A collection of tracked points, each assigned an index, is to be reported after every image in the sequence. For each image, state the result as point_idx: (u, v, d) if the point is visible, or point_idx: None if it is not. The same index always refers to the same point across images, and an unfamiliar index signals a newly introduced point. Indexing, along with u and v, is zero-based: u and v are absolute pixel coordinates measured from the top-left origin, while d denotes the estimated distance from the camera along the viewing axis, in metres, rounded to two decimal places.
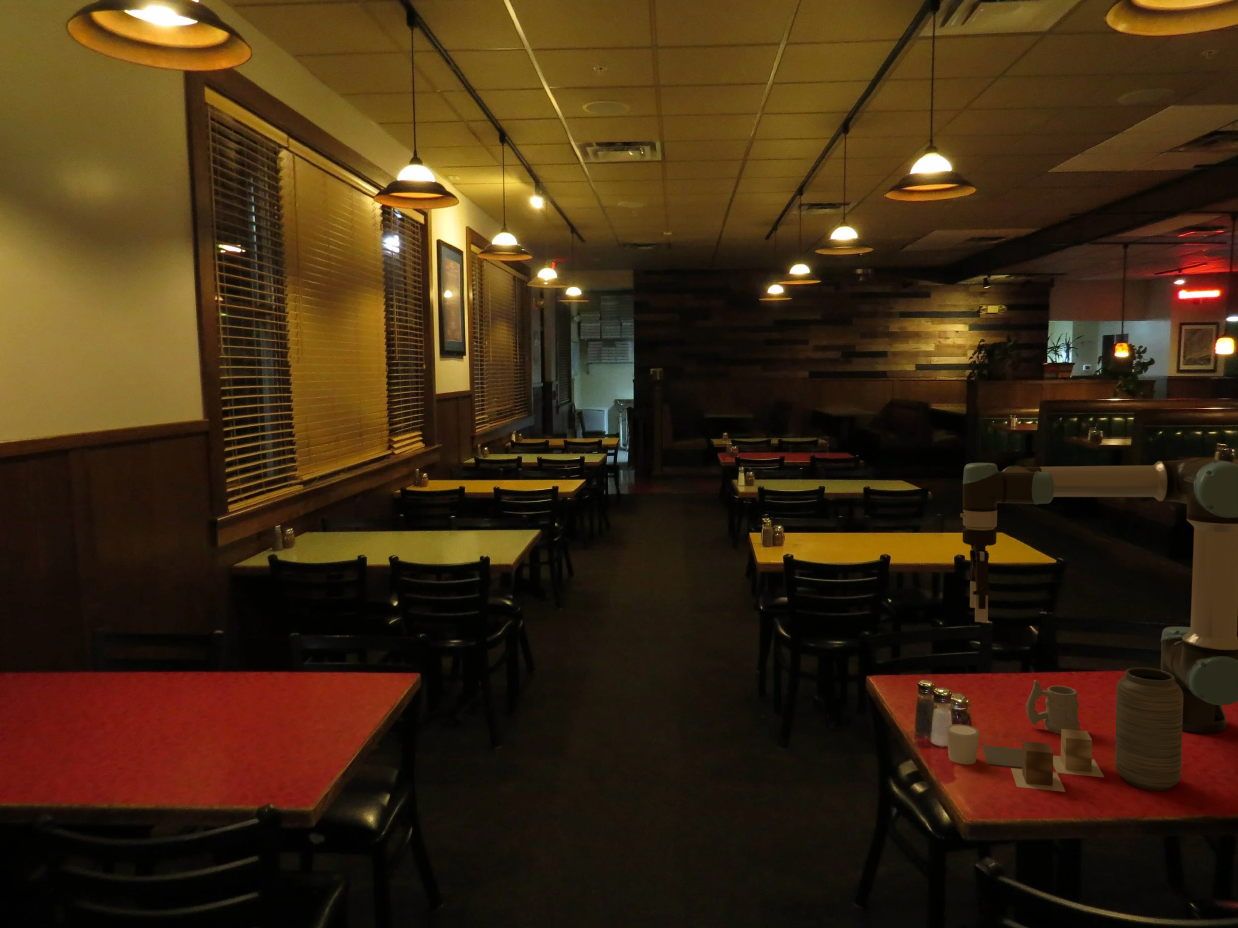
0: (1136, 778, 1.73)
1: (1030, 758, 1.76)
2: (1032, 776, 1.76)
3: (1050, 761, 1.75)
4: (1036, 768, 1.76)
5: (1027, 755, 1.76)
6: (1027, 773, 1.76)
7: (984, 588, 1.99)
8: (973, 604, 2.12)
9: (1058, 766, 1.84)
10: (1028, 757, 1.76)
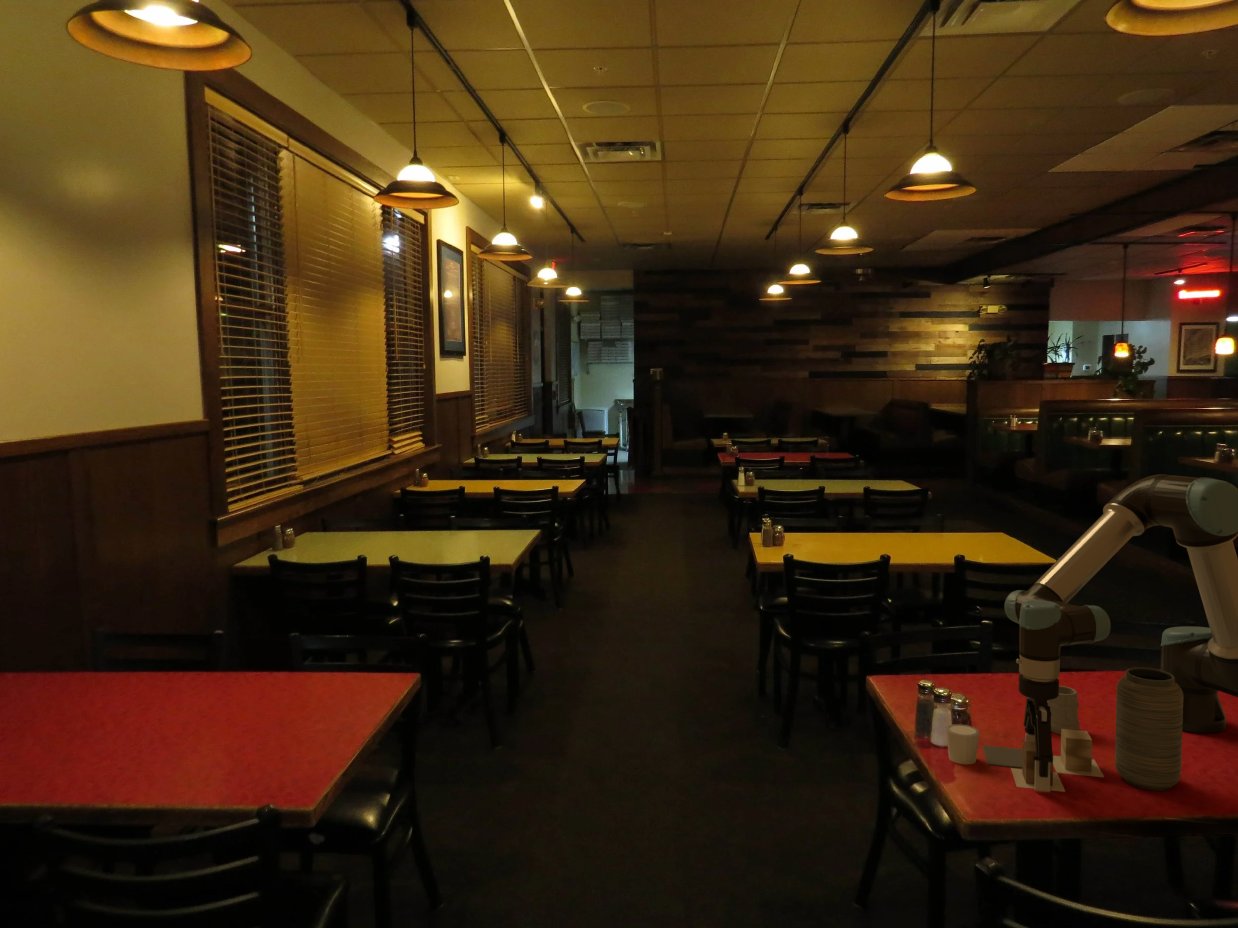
0: (1136, 778, 1.73)
1: (1030, 758, 1.76)
2: (1032, 776, 1.76)
3: None
4: None
5: (1027, 755, 1.76)
6: (1027, 773, 1.76)
7: None
8: None
9: (1058, 766, 1.84)
10: (1028, 757, 1.76)
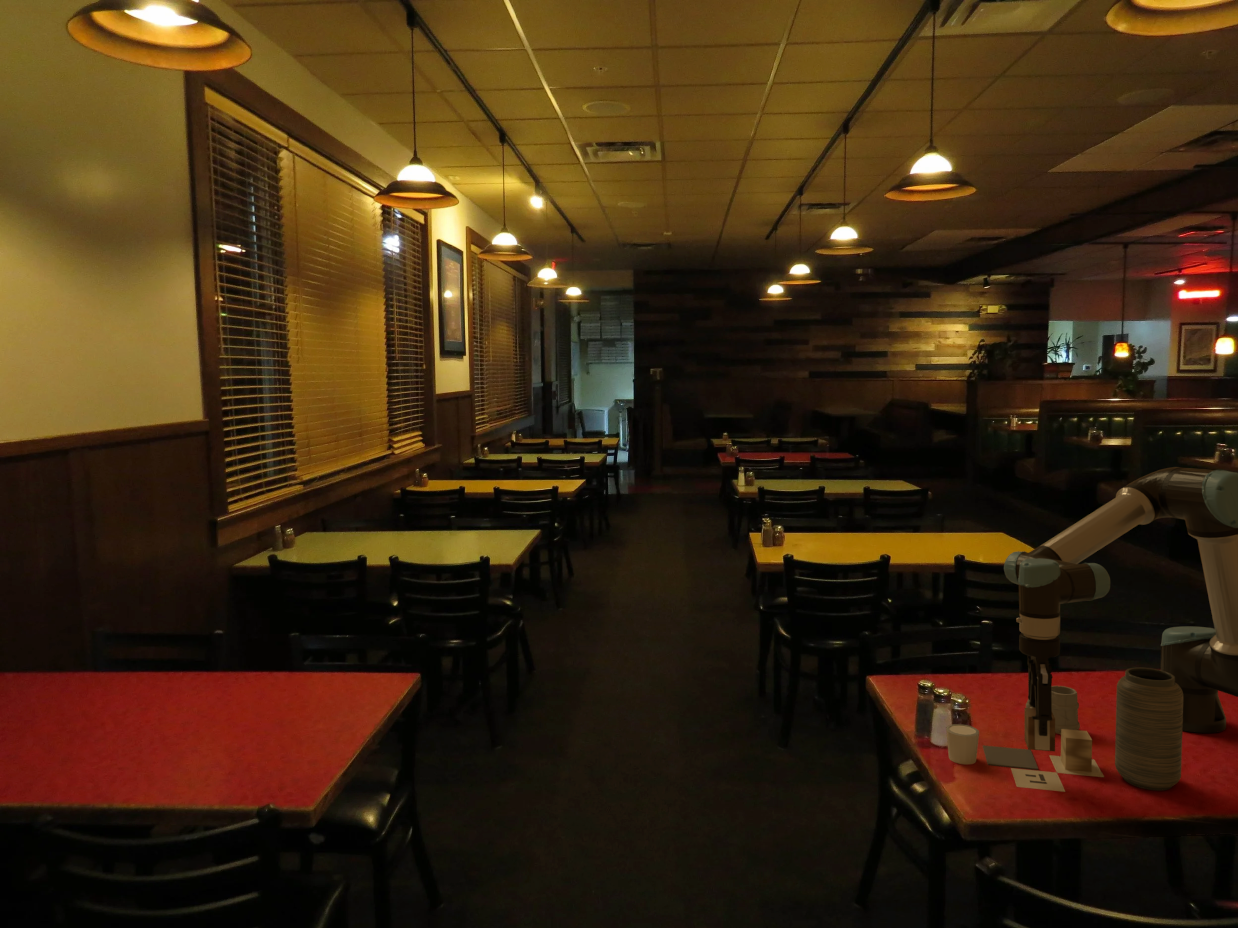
0: (1136, 778, 1.73)
1: (1032, 724, 1.76)
2: (1034, 742, 1.76)
3: (1052, 727, 1.74)
4: None
5: (1029, 721, 1.76)
6: (1029, 739, 1.76)
7: None
8: None
9: (1058, 766, 1.84)
10: (1030, 723, 1.76)
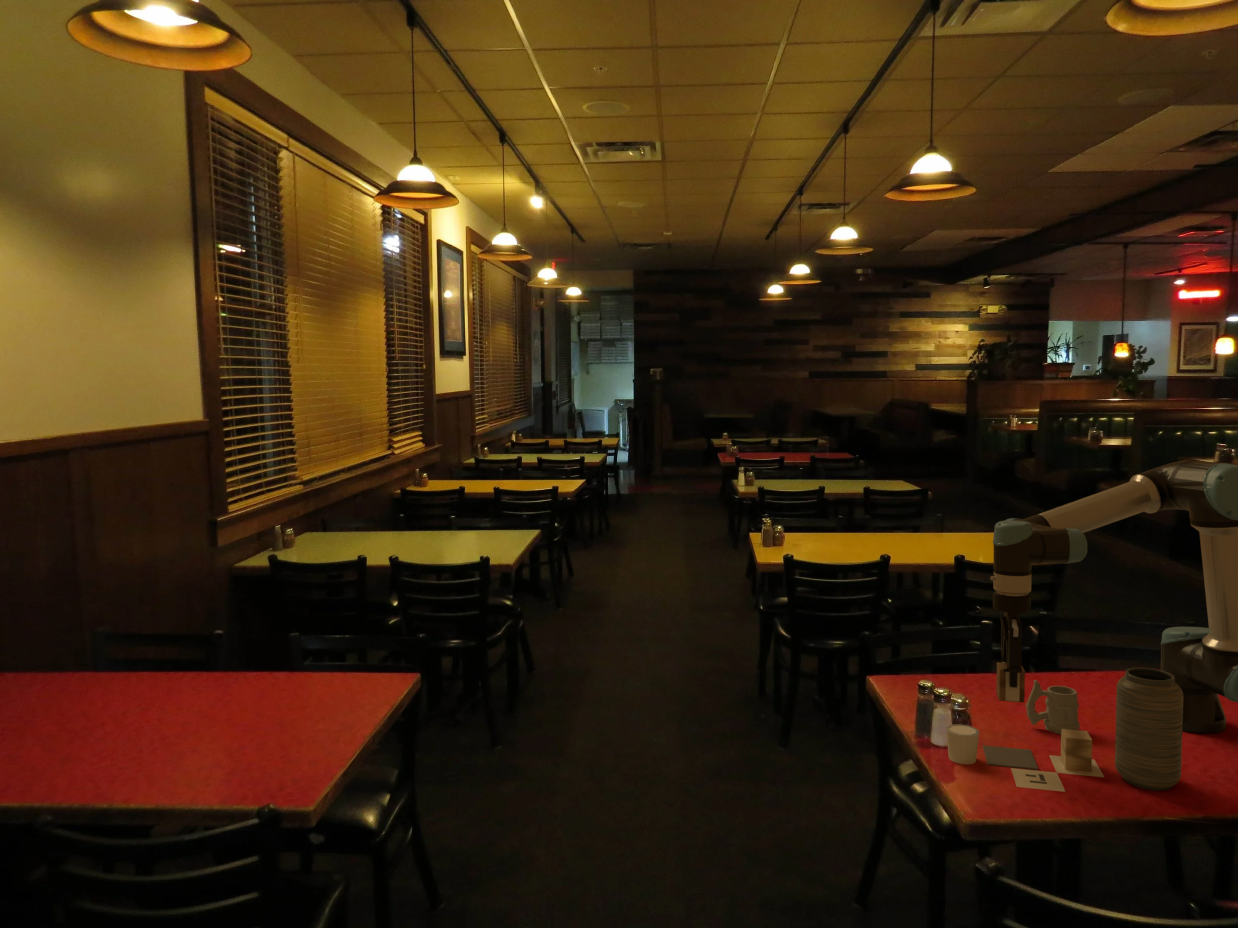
0: (1136, 778, 1.73)
1: (1003, 676, 1.86)
2: None
3: (1022, 679, 1.84)
4: None
5: (1000, 674, 1.86)
6: (1000, 691, 1.86)
7: None
8: None
9: (1058, 766, 1.84)
10: (1001, 676, 1.86)
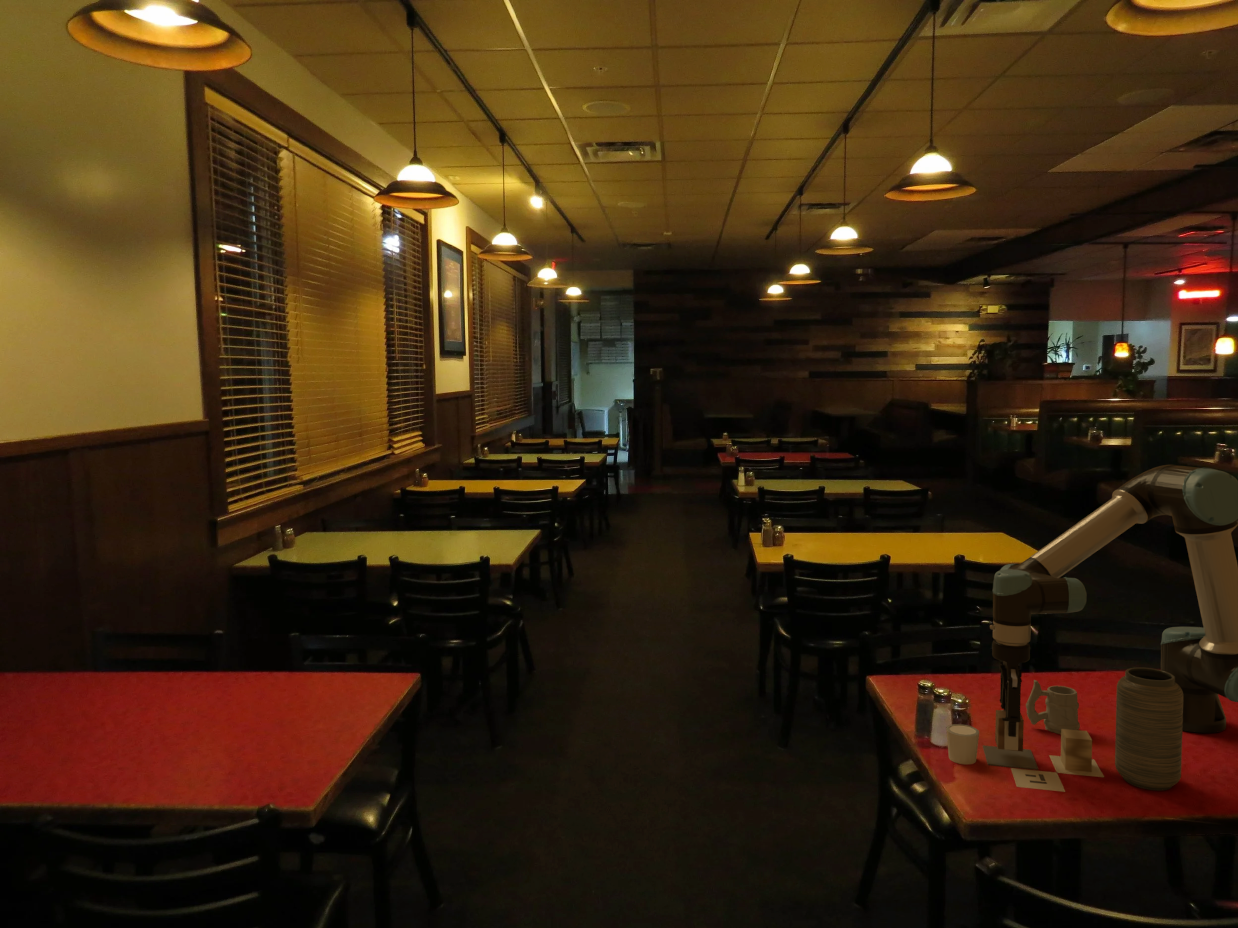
0: (1136, 778, 1.73)
1: (1002, 725, 1.86)
2: None
3: (1021, 728, 1.85)
4: None
5: (999, 722, 1.87)
6: (999, 739, 1.87)
7: None
8: None
9: (1058, 766, 1.84)
10: (1000, 724, 1.87)
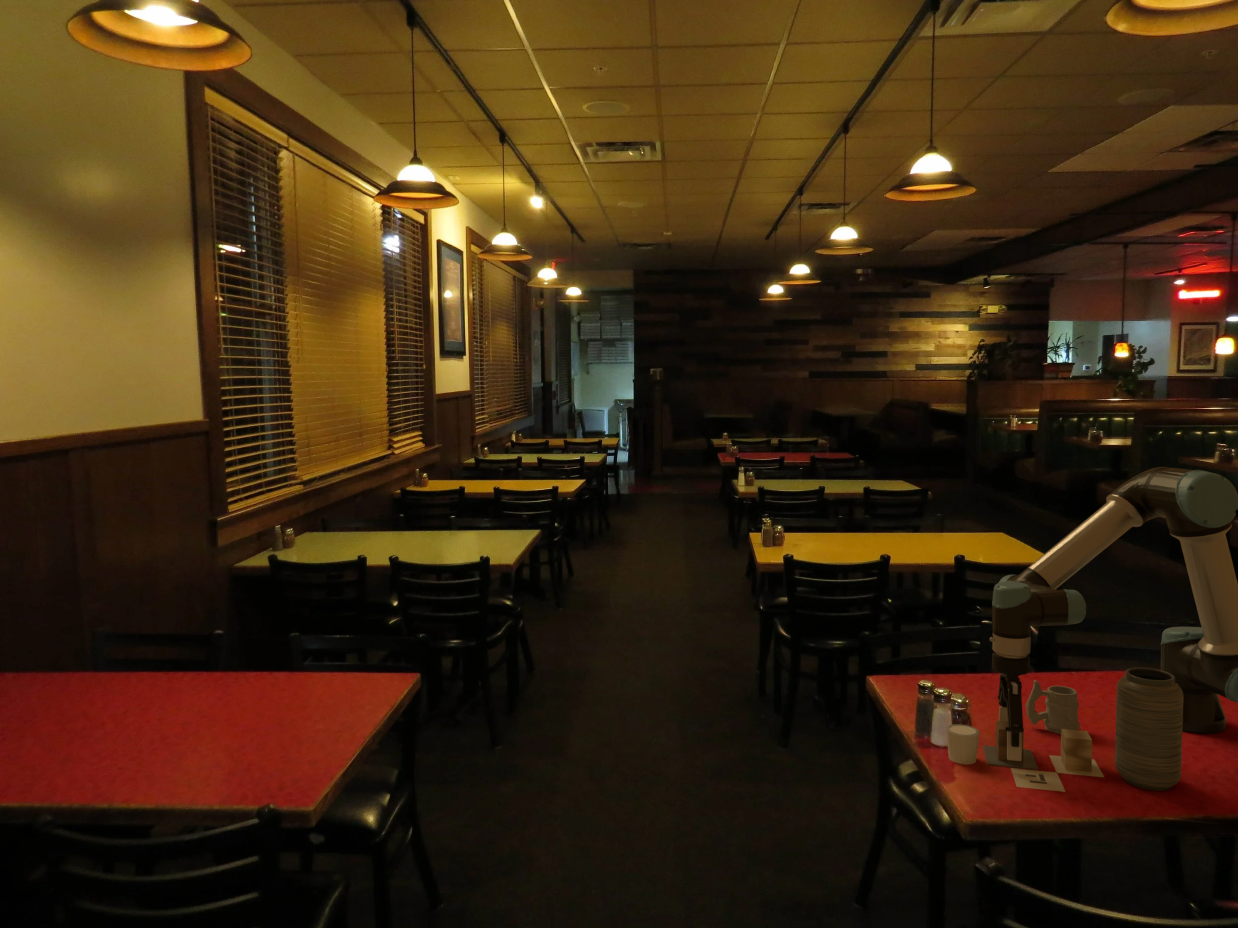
0: (1136, 778, 1.73)
1: (1002, 736, 1.87)
2: (1004, 753, 1.87)
3: None
4: None
5: (999, 733, 1.87)
6: (999, 750, 1.87)
7: None
8: None
9: (1058, 766, 1.84)
10: (1000, 735, 1.87)
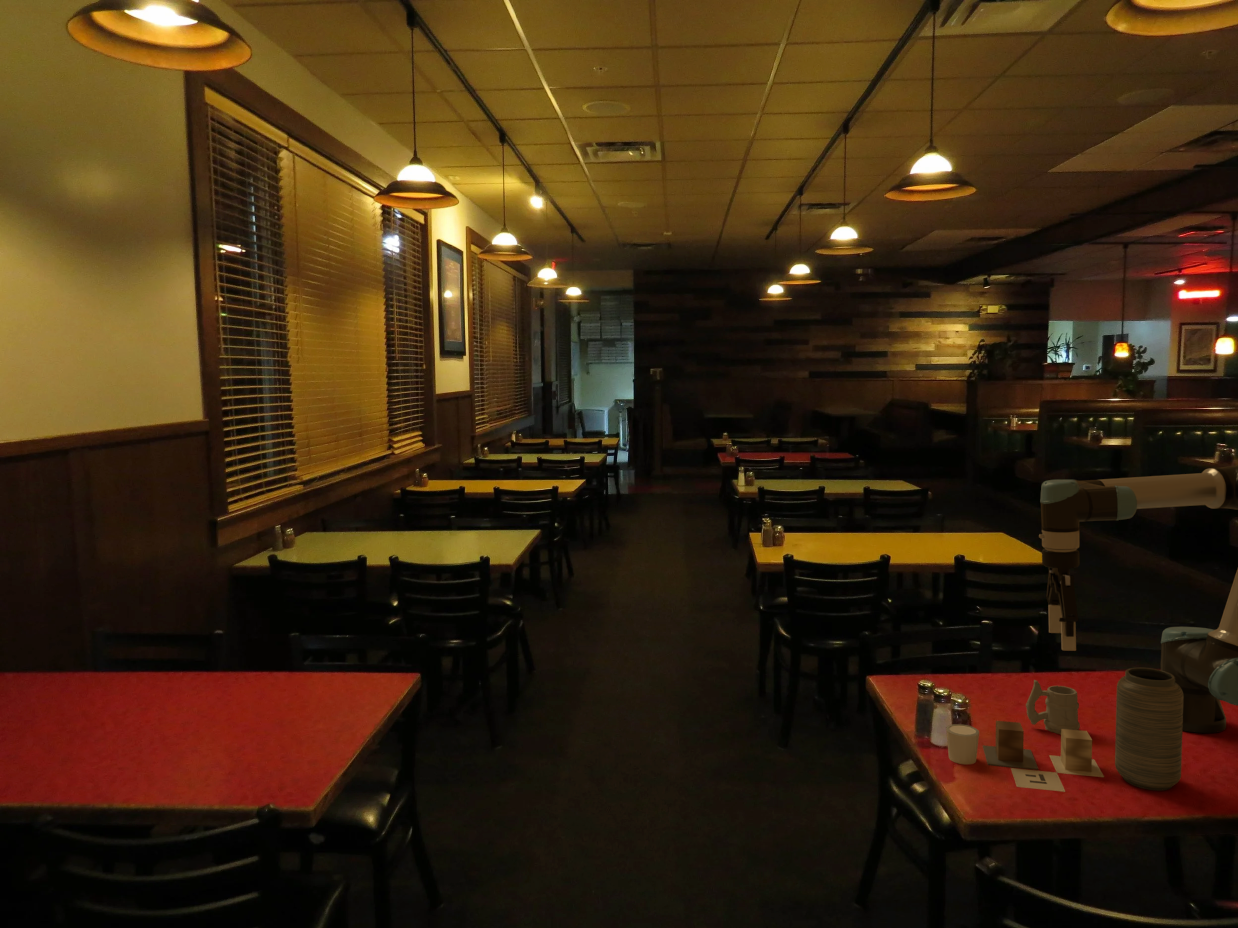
0: (1136, 778, 1.73)
1: (1002, 736, 1.87)
2: (1004, 753, 1.87)
3: (1021, 739, 1.86)
4: (1008, 745, 1.86)
5: (999, 733, 1.87)
6: (999, 750, 1.87)
7: (1071, 614, 1.86)
8: (1053, 629, 2.00)
9: (1058, 766, 1.84)
10: (1000, 735, 1.87)
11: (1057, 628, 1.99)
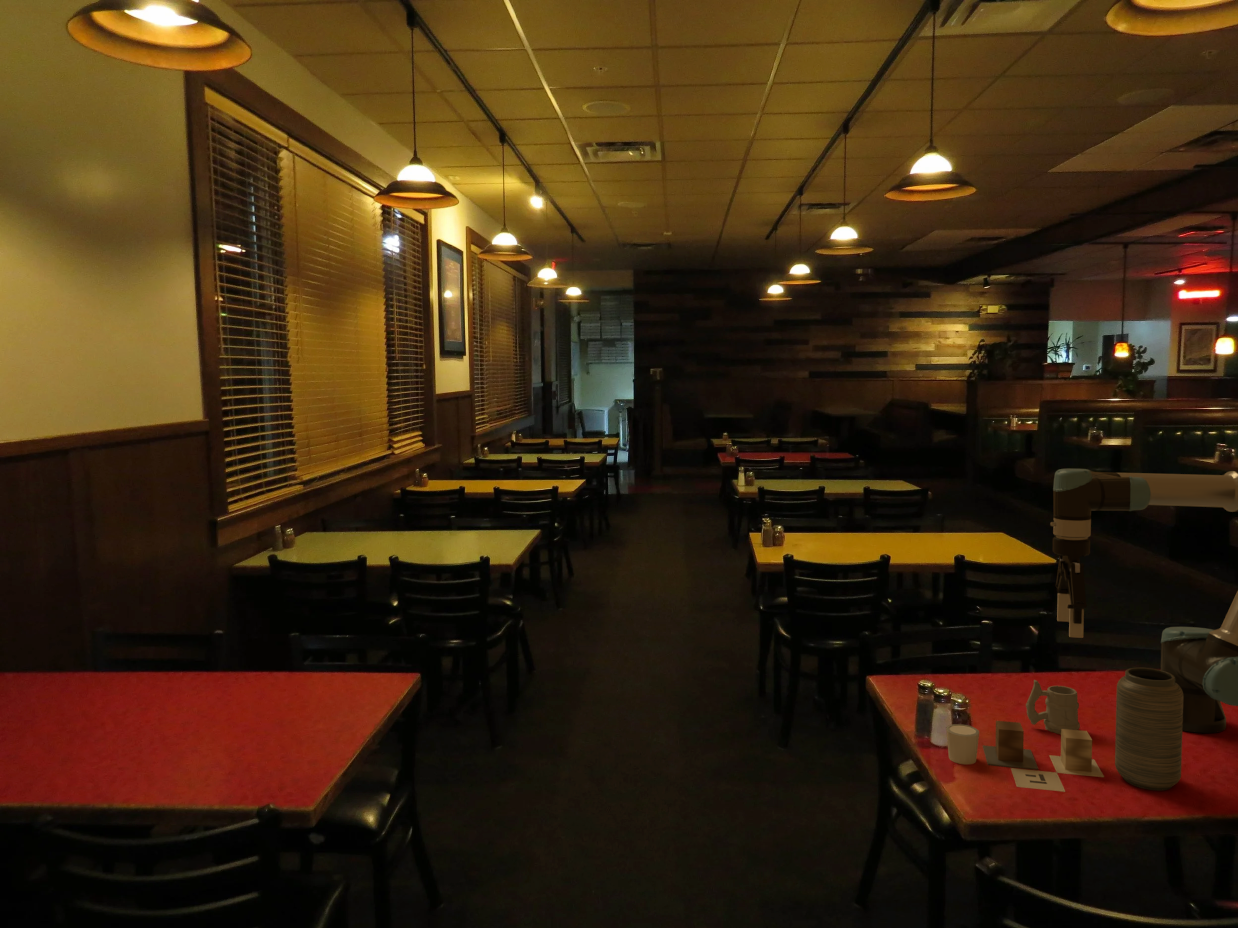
0: (1136, 778, 1.73)
1: (1002, 736, 1.87)
2: (1004, 753, 1.87)
3: (1021, 739, 1.86)
4: (1008, 745, 1.86)
5: (999, 733, 1.87)
6: (999, 750, 1.87)
7: (1079, 601, 1.88)
8: (1061, 617, 2.01)
9: (1058, 766, 1.84)
10: (1000, 735, 1.87)
11: (1065, 617, 2.01)
